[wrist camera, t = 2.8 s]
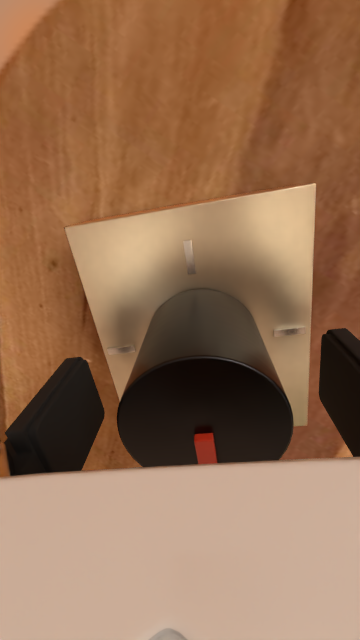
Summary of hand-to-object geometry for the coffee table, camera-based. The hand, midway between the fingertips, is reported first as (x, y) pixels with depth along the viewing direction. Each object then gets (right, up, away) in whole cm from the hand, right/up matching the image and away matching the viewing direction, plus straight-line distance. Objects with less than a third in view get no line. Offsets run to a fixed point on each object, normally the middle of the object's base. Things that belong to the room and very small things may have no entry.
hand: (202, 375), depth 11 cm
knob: (0, +1, +2) cm, 2 cm away
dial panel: (0, +3, +5) cm, 6 cm away
